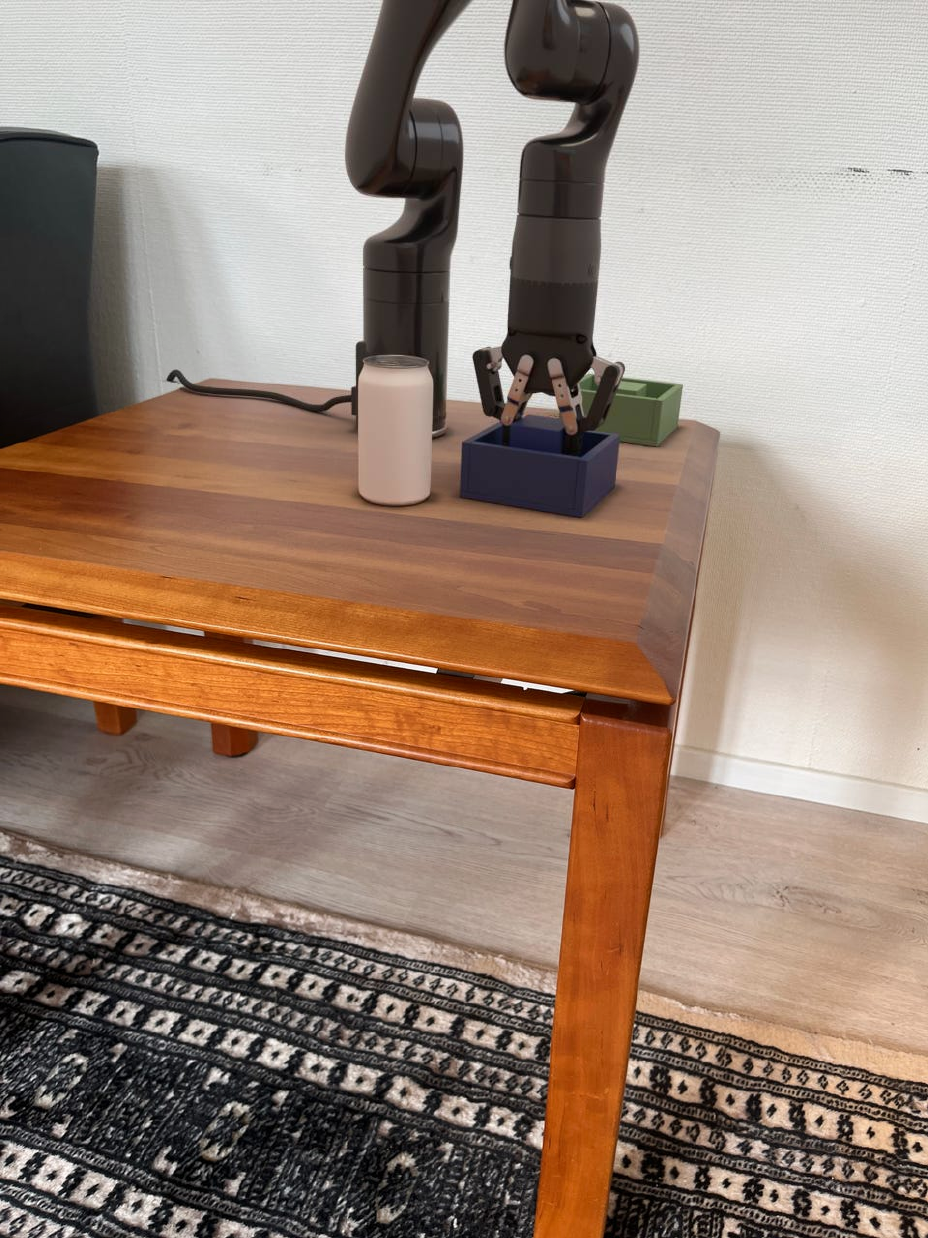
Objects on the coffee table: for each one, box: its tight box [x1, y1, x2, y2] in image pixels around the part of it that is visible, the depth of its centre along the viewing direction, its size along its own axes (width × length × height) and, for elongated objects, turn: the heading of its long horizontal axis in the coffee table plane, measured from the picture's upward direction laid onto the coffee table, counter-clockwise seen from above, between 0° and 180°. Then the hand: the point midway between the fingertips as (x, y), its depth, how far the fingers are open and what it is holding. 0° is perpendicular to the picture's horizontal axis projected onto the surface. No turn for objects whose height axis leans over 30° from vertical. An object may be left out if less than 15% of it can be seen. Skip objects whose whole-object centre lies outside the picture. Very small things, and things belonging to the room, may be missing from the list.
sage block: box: [616, 381, 647, 397], centre depth 114 cm, size 5×5×5 cm
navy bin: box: [459, 421, 620, 518], centre depth 91 cm, size 12×11×5 cm
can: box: [357, 355, 433, 507], centre depth 86 cm, size 6×6×12 cm
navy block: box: [509, 413, 566, 454], centre depth 90 cm, size 5×5×5 cm
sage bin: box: [558, 372, 684, 447], centre depth 114 cm, size 12×11×5 cm
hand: (539, 467), depth 91 cm, fingers closed on navy block, 4 cm apart
